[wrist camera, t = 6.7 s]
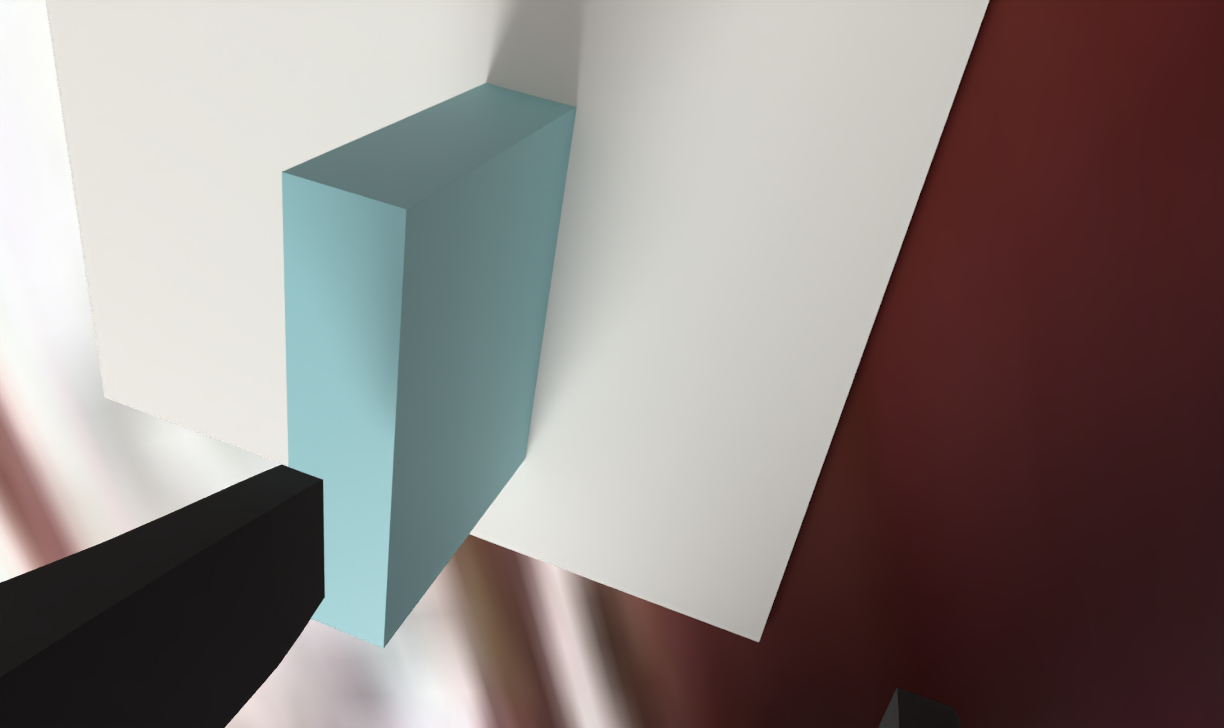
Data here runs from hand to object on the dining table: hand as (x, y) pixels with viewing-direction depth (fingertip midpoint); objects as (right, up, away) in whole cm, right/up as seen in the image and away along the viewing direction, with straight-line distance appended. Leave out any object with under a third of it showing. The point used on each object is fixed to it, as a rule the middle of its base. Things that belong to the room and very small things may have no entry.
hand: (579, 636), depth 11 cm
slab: (-2, +5, +8) cm, 9 cm away
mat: (-3, +6, +8) cm, 11 cm away
